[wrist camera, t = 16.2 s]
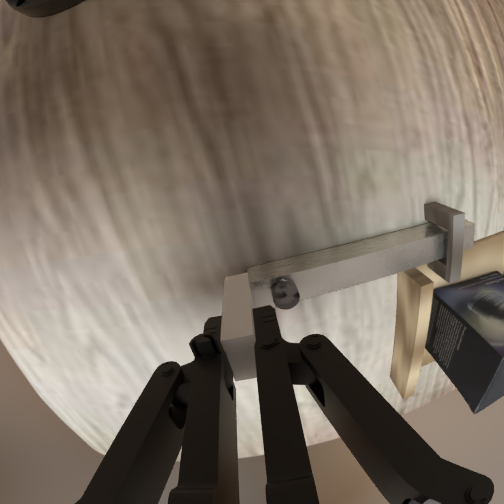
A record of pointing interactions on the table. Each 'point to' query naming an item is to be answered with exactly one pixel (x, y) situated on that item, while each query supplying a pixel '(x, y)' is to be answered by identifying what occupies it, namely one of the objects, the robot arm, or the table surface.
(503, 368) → the small box
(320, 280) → the lock bolt
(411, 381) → the cradle
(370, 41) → the table surface
